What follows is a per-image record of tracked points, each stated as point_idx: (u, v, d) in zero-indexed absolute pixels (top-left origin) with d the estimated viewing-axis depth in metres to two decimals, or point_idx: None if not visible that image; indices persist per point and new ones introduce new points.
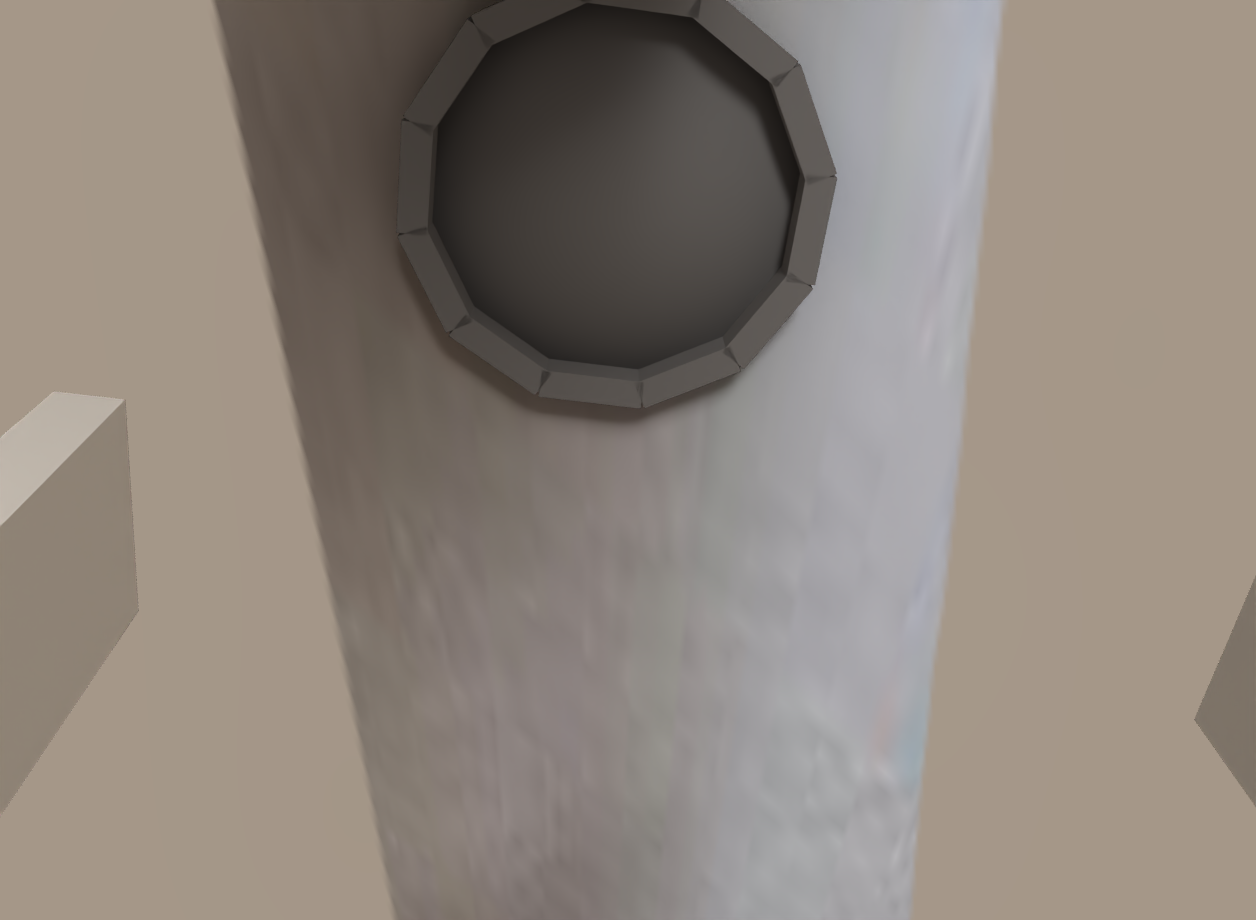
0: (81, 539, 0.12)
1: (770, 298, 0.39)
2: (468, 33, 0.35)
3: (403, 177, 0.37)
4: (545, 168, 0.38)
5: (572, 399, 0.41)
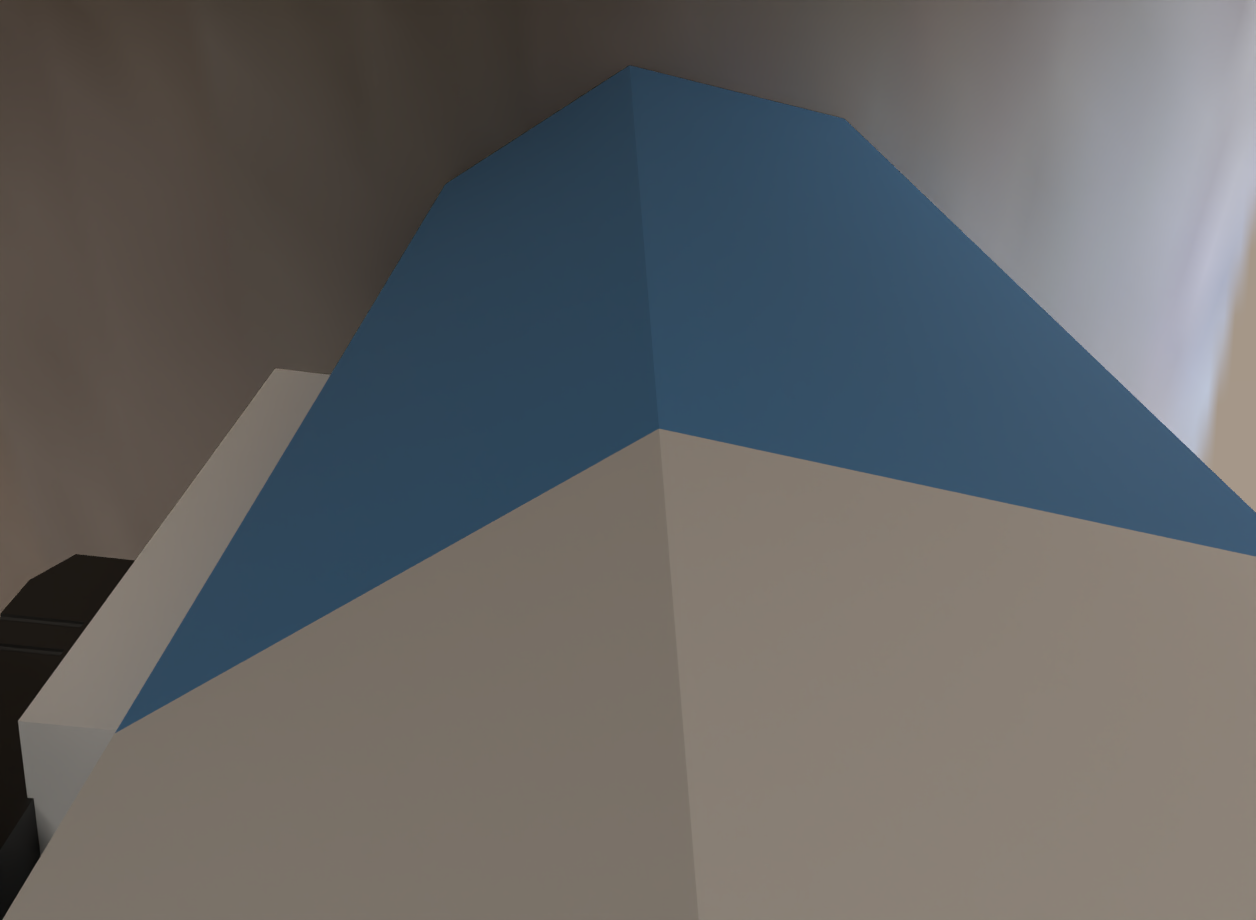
0: None
1: None
2: None
3: None
4: None
5: None
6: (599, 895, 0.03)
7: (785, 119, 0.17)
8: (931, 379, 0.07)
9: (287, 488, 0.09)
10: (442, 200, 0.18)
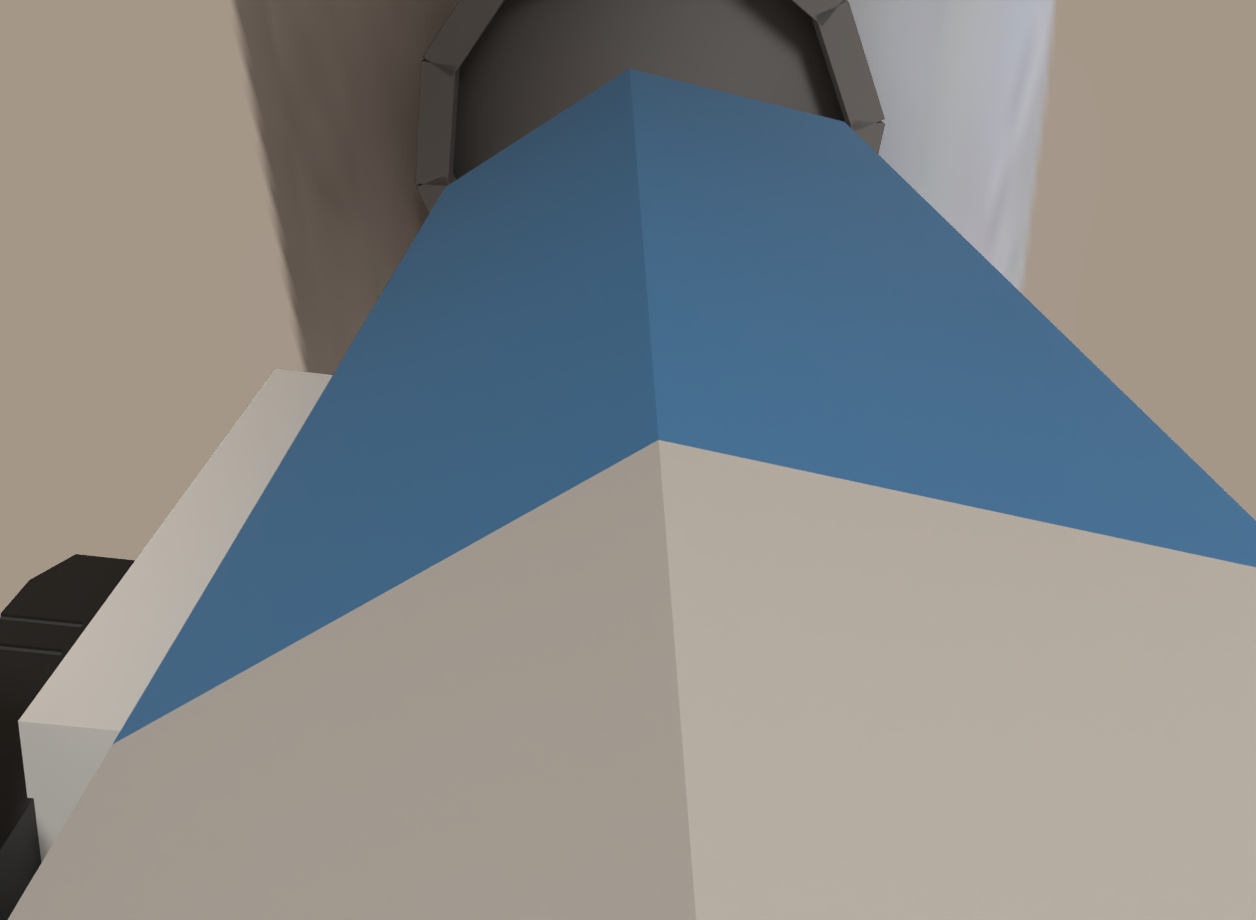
0: None
1: None
2: None
3: (423, 123, 0.35)
4: None
5: None
6: None
7: (785, 122, 0.17)
8: (932, 387, 0.07)
9: (286, 495, 0.09)
10: (442, 203, 0.18)
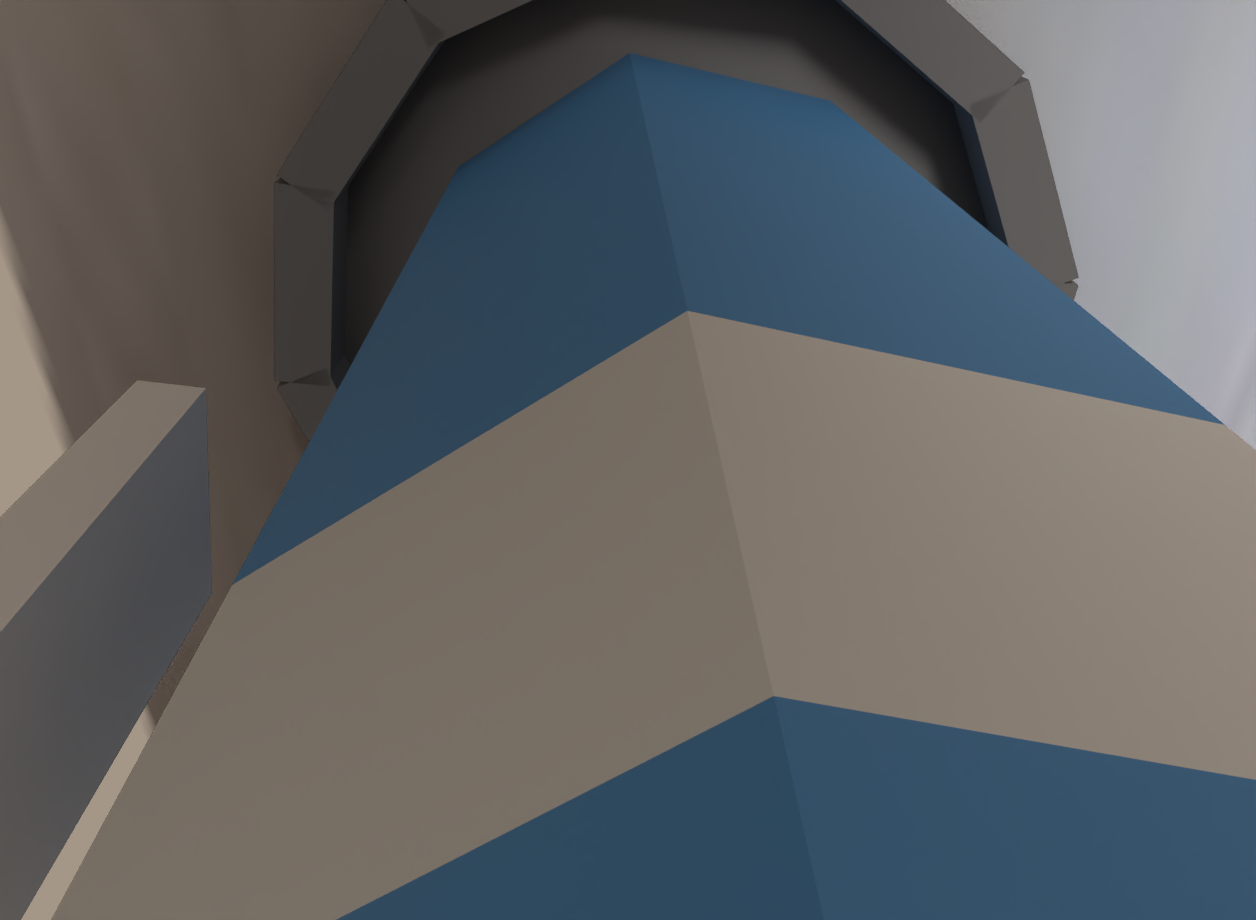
0: (168, 522, 0.12)
1: None
2: (395, 19, 0.18)
3: (282, 285, 0.20)
4: None
5: None
6: (673, 577, 0.05)
7: (775, 99, 0.18)
8: (909, 289, 0.09)
9: (352, 405, 0.10)
10: (458, 179, 0.19)
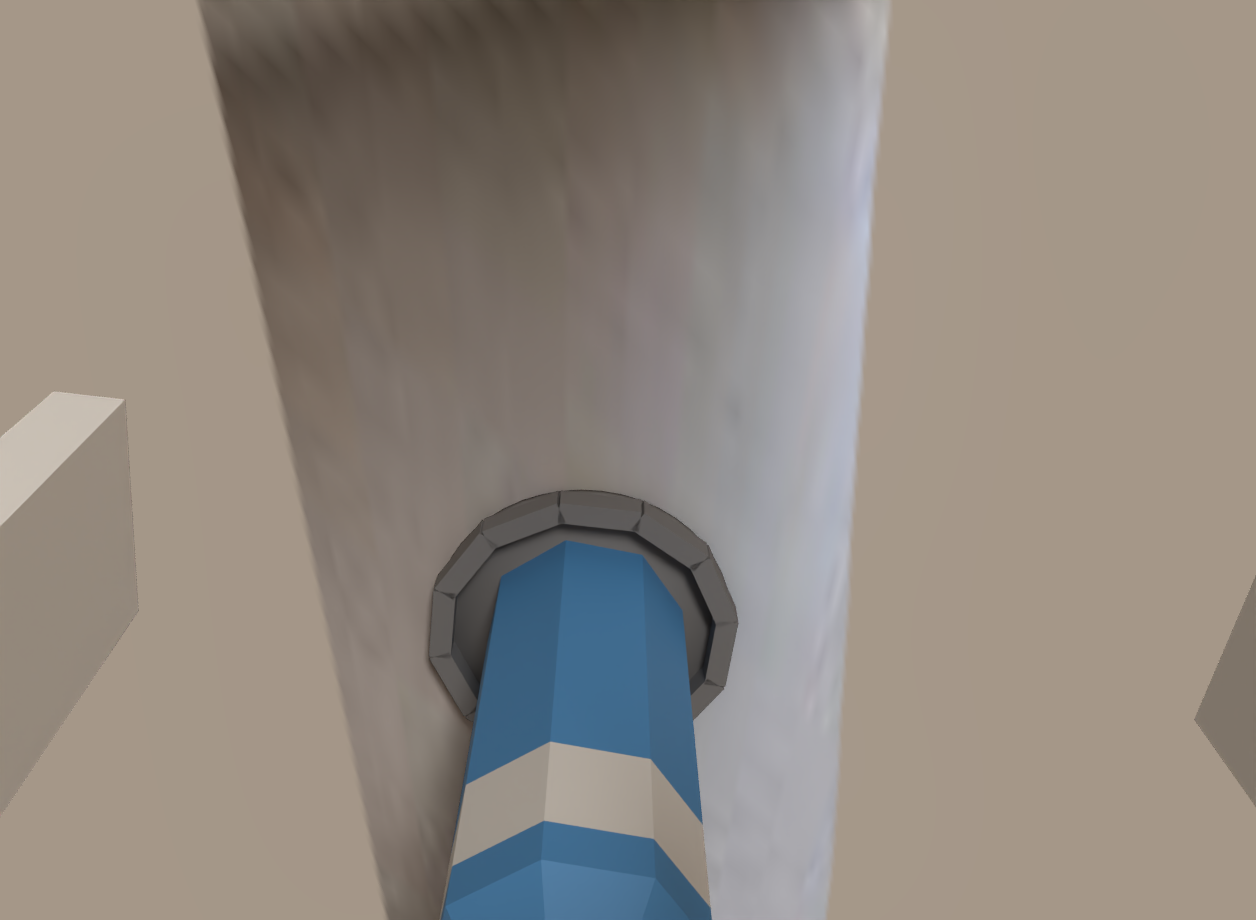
0: (81, 540, 0.12)
1: (694, 694, 0.55)
2: (480, 541, 0.51)
3: (434, 623, 0.53)
4: None
5: None
6: (538, 802, 0.38)
7: (616, 569, 0.51)
8: (603, 718, 0.42)
9: (482, 732, 0.43)
10: (501, 593, 0.52)
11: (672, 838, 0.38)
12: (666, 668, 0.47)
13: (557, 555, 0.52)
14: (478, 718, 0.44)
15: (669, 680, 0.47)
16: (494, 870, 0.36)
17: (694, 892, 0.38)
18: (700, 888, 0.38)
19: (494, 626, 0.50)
